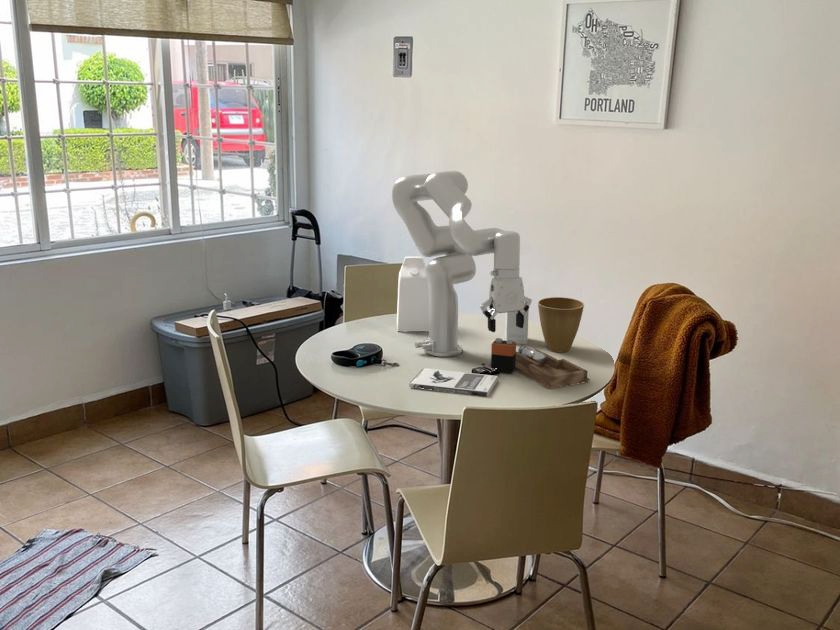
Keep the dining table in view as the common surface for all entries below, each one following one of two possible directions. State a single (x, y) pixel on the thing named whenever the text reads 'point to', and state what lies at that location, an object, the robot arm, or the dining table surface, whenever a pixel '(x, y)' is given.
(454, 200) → the robot arm
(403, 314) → the milk
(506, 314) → the supplement box
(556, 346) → the plant pot
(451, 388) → the book
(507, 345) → the battery
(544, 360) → the shaft
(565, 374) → the tray
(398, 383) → the dining table surface
